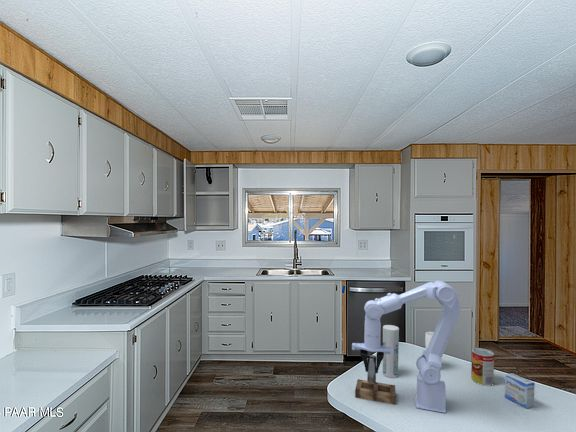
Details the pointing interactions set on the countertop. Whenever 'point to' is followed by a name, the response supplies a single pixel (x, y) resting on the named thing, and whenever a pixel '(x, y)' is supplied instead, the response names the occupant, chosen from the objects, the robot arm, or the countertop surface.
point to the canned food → (482, 366)
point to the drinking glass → (428, 338)
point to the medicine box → (519, 390)
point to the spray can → (393, 342)
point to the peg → (371, 369)
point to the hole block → (375, 391)
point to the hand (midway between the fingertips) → (371, 371)
